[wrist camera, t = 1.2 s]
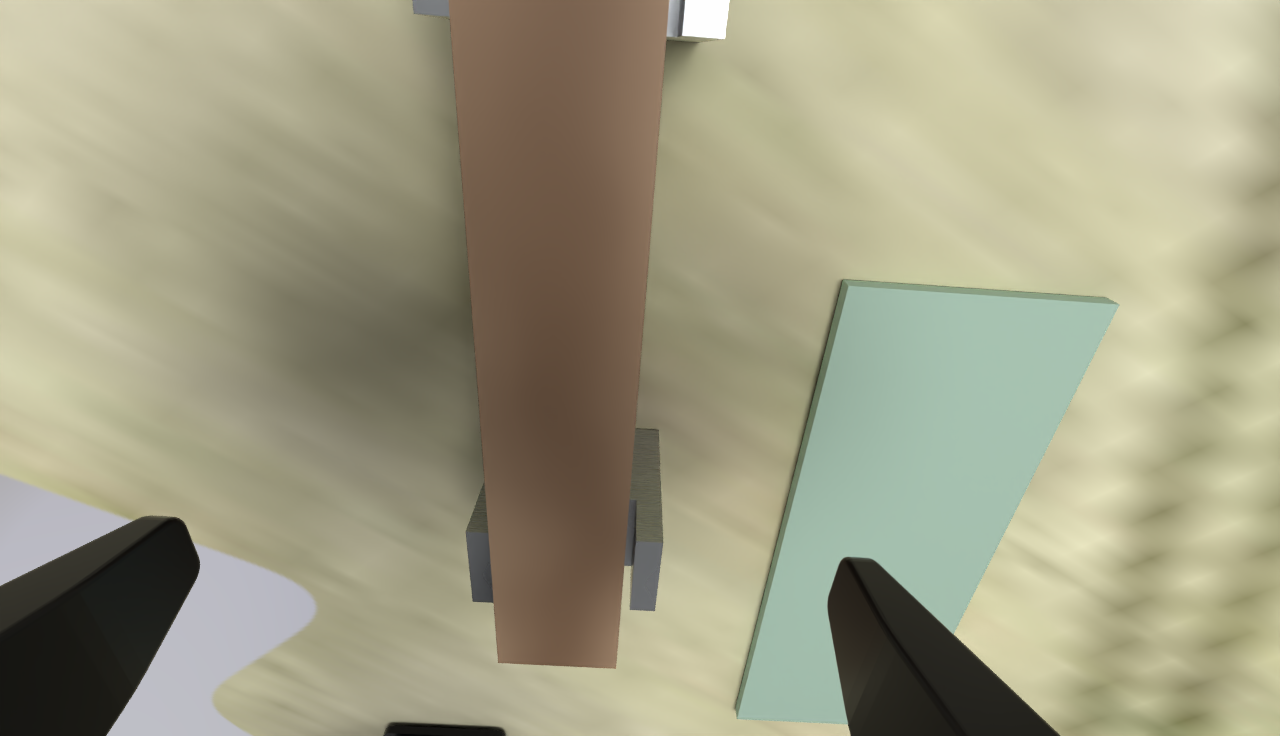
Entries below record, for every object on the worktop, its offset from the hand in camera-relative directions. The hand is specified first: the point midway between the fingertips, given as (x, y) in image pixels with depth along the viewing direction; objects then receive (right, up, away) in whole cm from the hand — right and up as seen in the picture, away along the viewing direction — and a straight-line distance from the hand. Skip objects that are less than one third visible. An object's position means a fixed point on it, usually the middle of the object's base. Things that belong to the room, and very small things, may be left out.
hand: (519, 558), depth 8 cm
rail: (0, +4, +7) cm, 9 cm away
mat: (+12, -5, +17) cm, 22 cm away
